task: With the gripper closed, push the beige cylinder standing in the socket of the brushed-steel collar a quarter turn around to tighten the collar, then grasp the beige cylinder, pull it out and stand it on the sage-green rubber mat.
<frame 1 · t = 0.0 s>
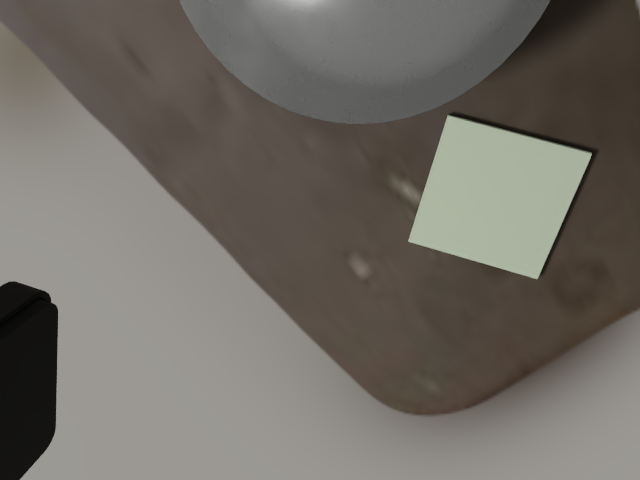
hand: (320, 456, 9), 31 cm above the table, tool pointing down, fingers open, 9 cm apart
mat: (494, 198, 39), on the table
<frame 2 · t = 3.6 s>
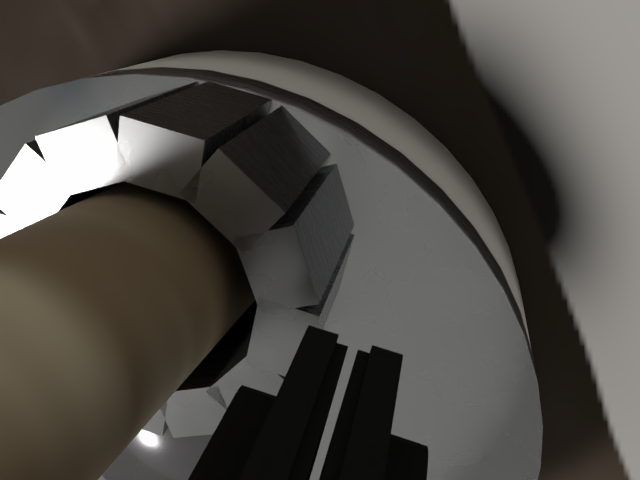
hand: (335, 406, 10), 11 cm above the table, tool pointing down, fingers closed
chuck base: (246, 324, 24), on the table
beige cylinder: (217, 225, 15), point 6 cm above the table, tilted 5°, touching chuck collar, gripper
chuck collar: (167, 449, 17), point 7 cm above the table, hinge at 0.0°, touching beige cylinder
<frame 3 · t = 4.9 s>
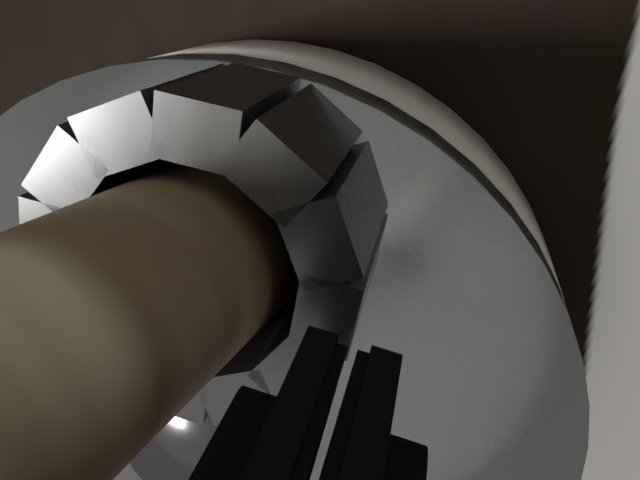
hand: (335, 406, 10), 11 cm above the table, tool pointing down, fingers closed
chuck base: (273, 319, 23), on the table
beige cylinder: (256, 219, 15), point 6 cm above the table, tilted 10°, touching chuck collar, gripper
chuck collar: (202, 444, 17), point 7 cm above the table, hinge at 25.3°, touching beige cylinder
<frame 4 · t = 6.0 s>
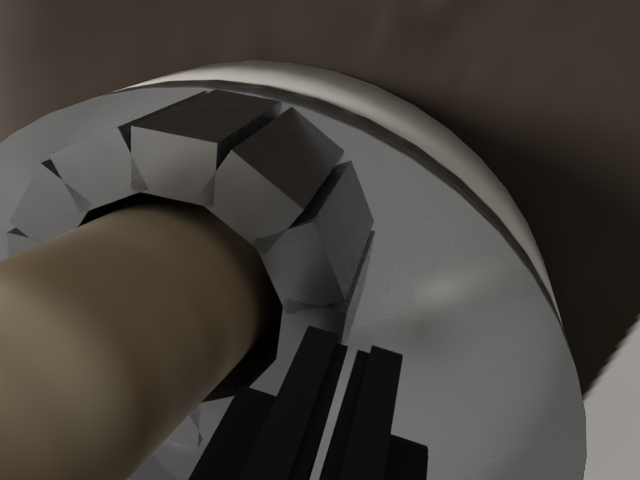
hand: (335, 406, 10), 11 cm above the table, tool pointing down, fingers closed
chuck base: (273, 334, 23), on the table
beige cylinder: (244, 241, 15), point 6 cm above the table, tilted 10°, touching chuck collar, gripper
chuck collar: (203, 464, 17), point 7 cm above the table, hinge at 50.1°, touching beige cylinder
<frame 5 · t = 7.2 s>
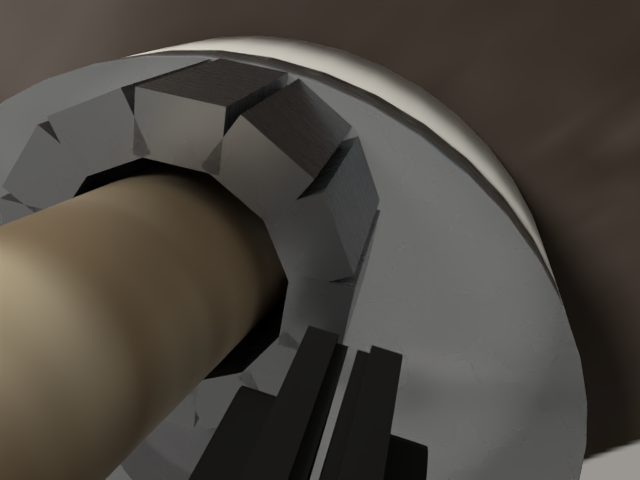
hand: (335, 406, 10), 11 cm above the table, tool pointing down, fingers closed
chuck base: (267, 318, 23), on the table
beige cylinder: (245, 220, 14), point 6 cm above the table, tilted 10°, touching chuck collar, gripper
chuck collar: (196, 447, 17), point 7 cm above the table, hinge at 81.0°, touching beige cylinder
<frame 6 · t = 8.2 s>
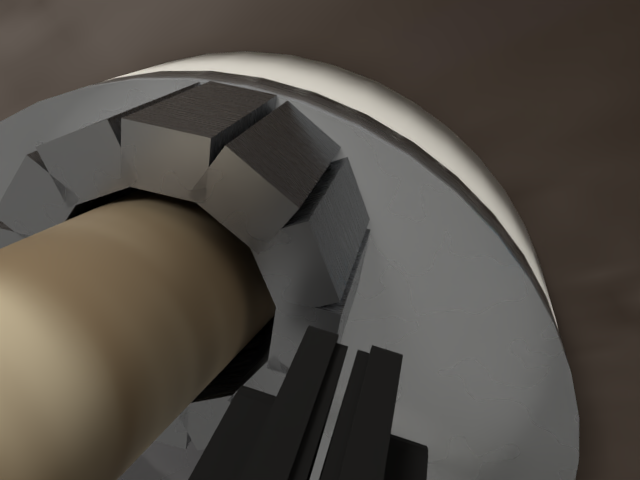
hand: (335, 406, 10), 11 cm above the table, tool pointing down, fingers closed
chuck base: (264, 330, 23), on the table
beige cylinder: (236, 238, 15), point 6 cm above the table, tilted 10°, touching chuck collar, gripper
chuck collar: (192, 462, 17), point 7 cm above the table, hinge at 103.0°, touching beige cylinder
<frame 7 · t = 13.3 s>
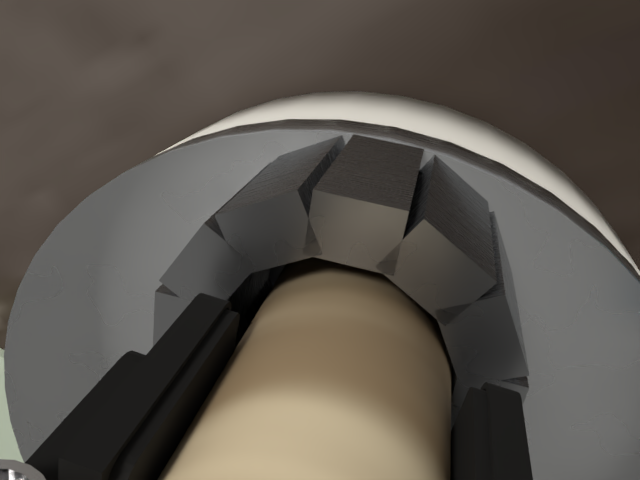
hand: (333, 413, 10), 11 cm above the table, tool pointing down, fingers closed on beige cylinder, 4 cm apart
chuck base: (351, 367, 23), on the table
beige cylinder: (369, 282, 15), point 6 cm above the table, touching chuck collar, gripper
when the fingers open (6 cm above the table, at t = 21.7 s): beige cylinder stays where it is, resting on mat.
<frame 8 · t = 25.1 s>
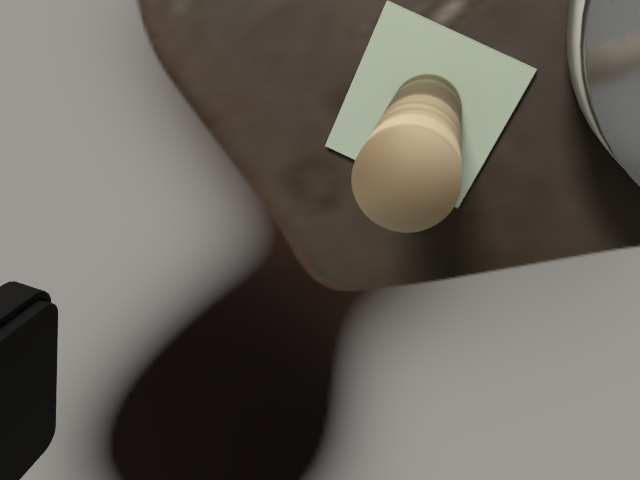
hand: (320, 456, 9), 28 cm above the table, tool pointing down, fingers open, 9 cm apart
mat: (424, 108, 34), on the table
beige cylinder: (426, 109, 34), resting on mat
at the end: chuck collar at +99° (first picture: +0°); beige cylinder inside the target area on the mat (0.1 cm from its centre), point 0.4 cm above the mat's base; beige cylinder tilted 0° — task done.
